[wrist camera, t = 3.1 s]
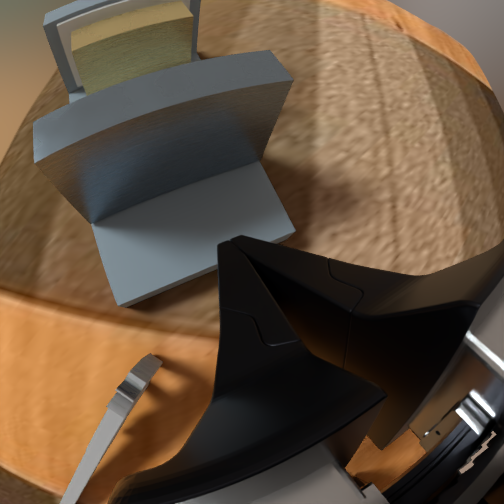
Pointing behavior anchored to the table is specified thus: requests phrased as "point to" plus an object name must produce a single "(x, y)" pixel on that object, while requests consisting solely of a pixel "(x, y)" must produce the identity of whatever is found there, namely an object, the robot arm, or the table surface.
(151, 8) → the pale yellow wooden block
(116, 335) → the table surface
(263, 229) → the vise
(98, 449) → the caliper
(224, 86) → the sliding jaw
